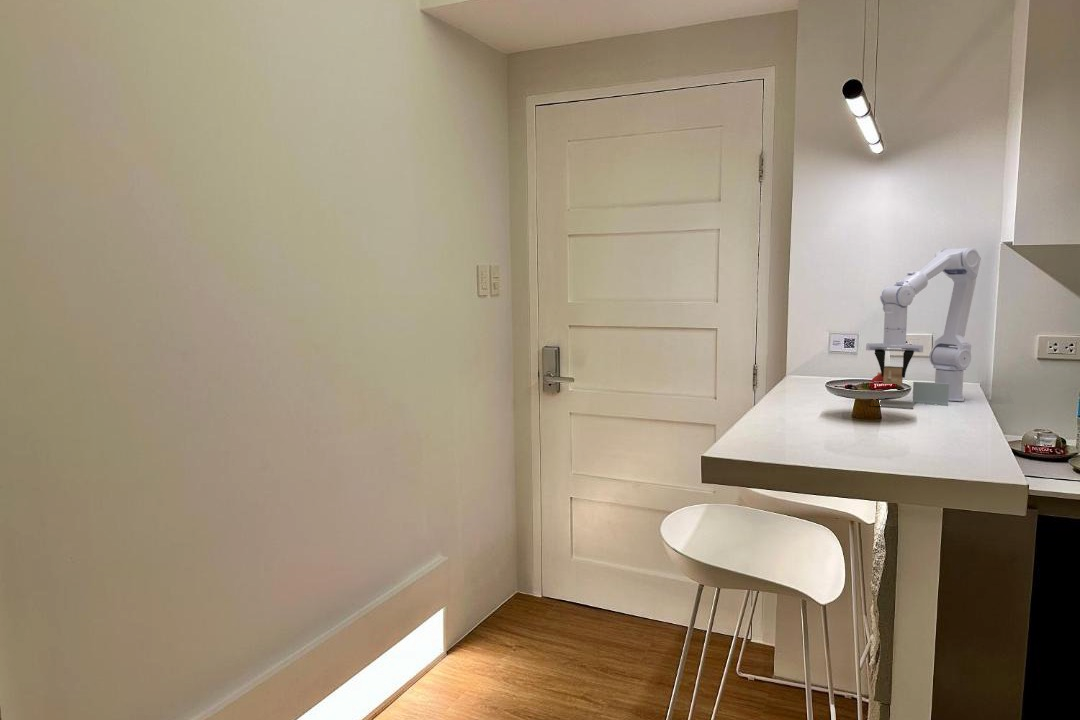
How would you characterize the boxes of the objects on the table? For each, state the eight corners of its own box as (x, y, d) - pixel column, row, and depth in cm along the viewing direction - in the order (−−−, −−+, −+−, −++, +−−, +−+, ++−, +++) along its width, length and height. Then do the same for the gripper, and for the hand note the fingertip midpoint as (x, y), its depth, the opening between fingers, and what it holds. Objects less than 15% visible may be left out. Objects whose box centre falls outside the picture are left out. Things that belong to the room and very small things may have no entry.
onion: (885, 397, 227) (887, 371, 226) (893, 400, 221) (894, 373, 220) (865, 397, 227) (866, 370, 227) (872, 400, 222) (873, 373, 221)
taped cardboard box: (884, 382, 216) (885, 366, 216) (902, 383, 214) (902, 366, 214) (883, 384, 212) (883, 368, 212) (901, 385, 210) (902, 368, 209)
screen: (912, 401, 219) (913, 381, 218) (948, 403, 215) (949, 382, 214) (912, 403, 216) (913, 382, 215) (948, 405, 212) (949, 384, 211)
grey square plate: (872, 400, 222) (872, 399, 221) (914, 403, 216) (914, 401, 216) (869, 406, 212) (869, 404, 212) (912, 409, 207) (912, 407, 207)
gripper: (865, 329, 212) (863, 377, 213) (923, 330, 205) (921, 379, 206) (868, 327, 218) (866, 374, 219) (924, 328, 211) (922, 376, 212)
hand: (893, 376), depth 213 cm, fingers closed on taped cardboard box, 5 cm apart
